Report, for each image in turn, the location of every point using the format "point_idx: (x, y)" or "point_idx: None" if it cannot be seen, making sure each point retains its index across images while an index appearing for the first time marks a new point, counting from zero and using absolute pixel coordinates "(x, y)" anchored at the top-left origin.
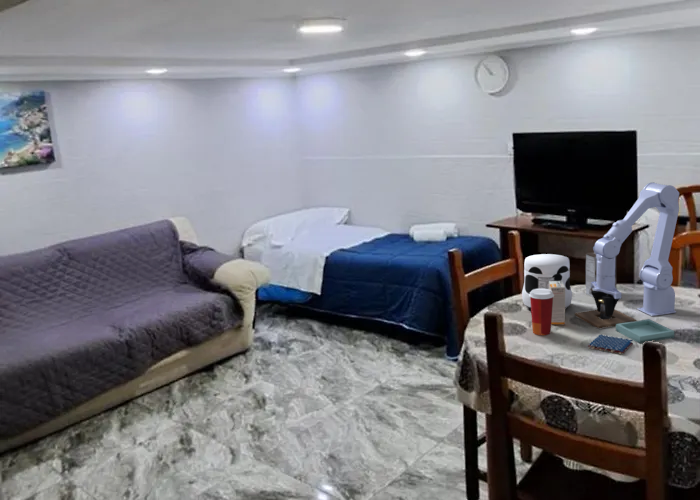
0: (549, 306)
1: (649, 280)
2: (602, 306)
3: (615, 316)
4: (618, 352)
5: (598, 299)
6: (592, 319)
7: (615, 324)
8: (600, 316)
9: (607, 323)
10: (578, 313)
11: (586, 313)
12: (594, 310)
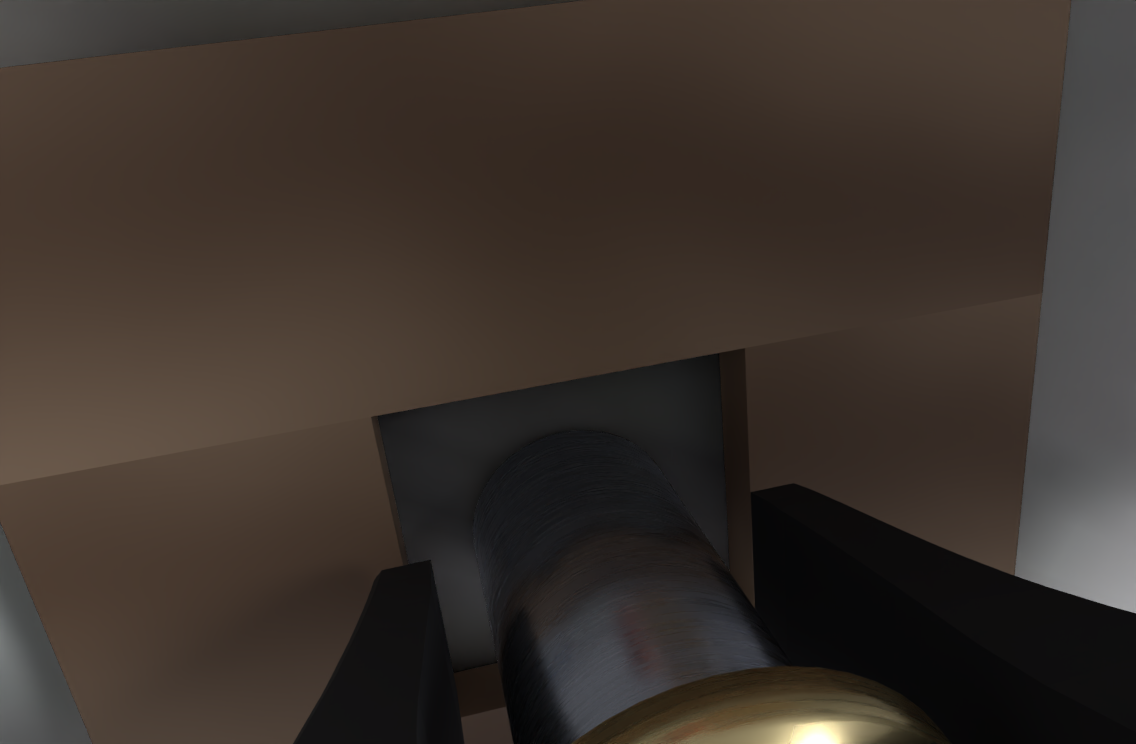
0: None
1: None
2: (598, 652)
3: (510, 732)
4: None
5: (873, 731)
6: (449, 174)
7: (48, 590)
8: (600, 450)
9: (40, 426)
10: (997, 20)
11: (914, 224)
12: (998, 469)
